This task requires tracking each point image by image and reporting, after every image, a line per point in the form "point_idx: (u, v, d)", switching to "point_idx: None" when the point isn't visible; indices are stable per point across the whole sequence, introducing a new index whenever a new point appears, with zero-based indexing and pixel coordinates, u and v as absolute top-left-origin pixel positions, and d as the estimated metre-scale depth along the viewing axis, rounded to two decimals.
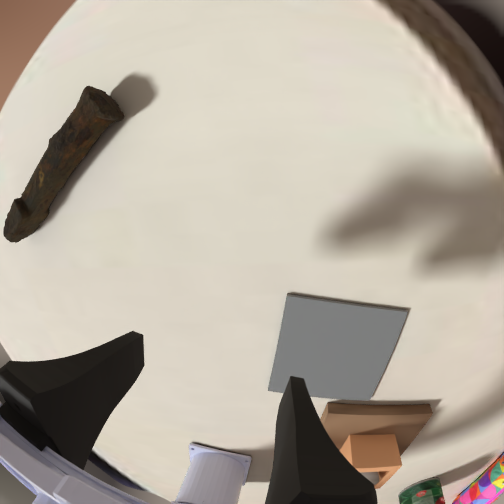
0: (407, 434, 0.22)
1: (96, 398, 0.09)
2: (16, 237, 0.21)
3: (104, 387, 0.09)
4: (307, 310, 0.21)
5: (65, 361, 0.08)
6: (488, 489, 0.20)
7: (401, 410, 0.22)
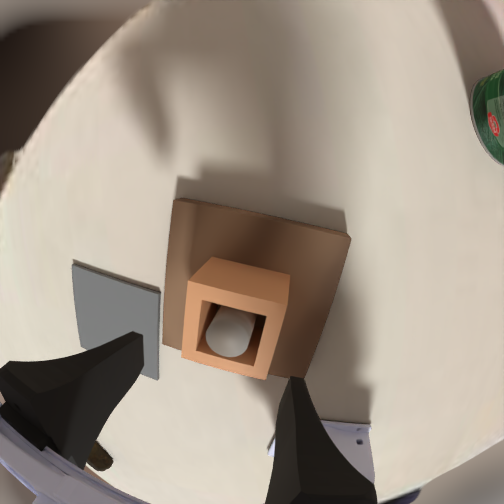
0: (219, 232, 0.19)
1: (96, 398, 0.09)
2: (98, 464, 0.31)
3: (104, 387, 0.09)
4: (85, 337, 0.25)
5: (65, 361, 0.08)
6: None
7: None
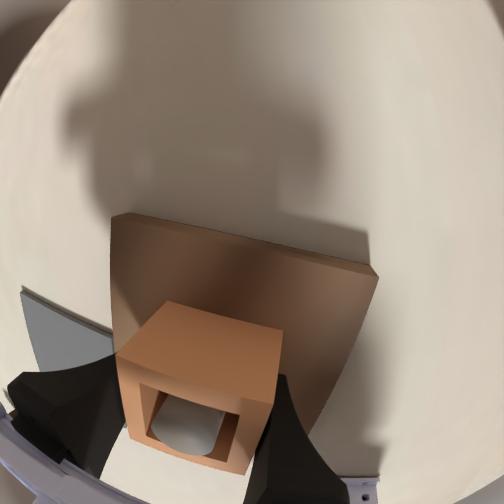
0: (174, 266, 0.12)
1: (113, 407, 0.09)
2: None
3: (120, 395, 0.09)
4: None
5: (81, 370, 0.08)
6: None
7: None
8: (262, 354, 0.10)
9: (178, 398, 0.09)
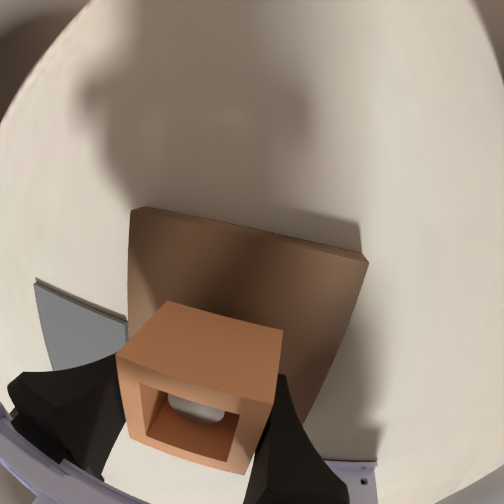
0: (188, 253, 0.14)
1: (113, 407, 0.09)
2: None
3: (120, 395, 0.09)
4: (55, 362, 0.20)
5: (81, 369, 0.08)
6: None
7: None
8: (262, 354, 0.10)
9: None
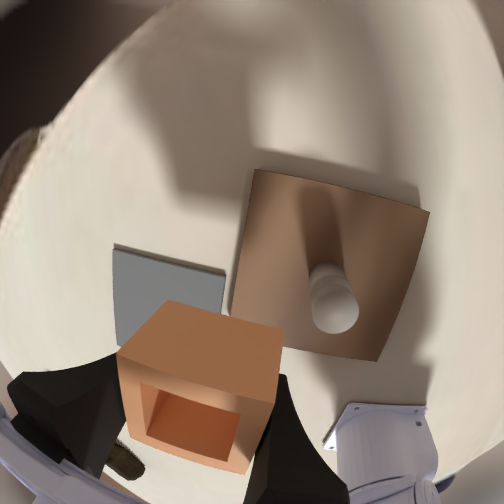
0: (306, 203, 0.17)
1: (113, 407, 0.09)
2: (129, 473, 0.29)
3: (120, 395, 0.09)
4: (123, 334, 0.24)
5: (81, 369, 0.08)
6: None
7: None
8: (263, 353, 0.10)
9: (330, 284, 0.14)
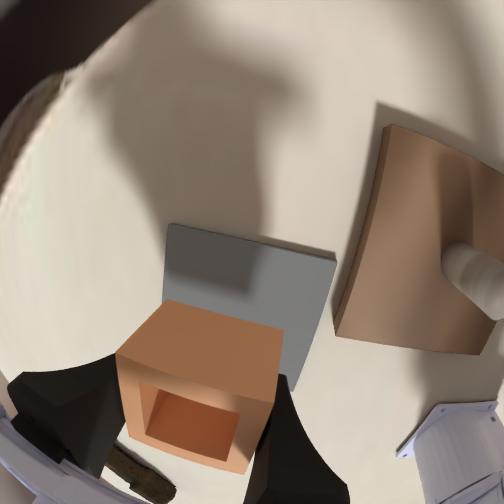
0: (444, 172, 0.12)
1: (113, 406, 0.09)
2: (159, 497, 0.24)
3: (120, 395, 0.09)
4: None
5: (80, 370, 0.08)
6: None
7: (374, 196, 0.14)
8: (263, 353, 0.10)
9: (495, 262, 0.09)
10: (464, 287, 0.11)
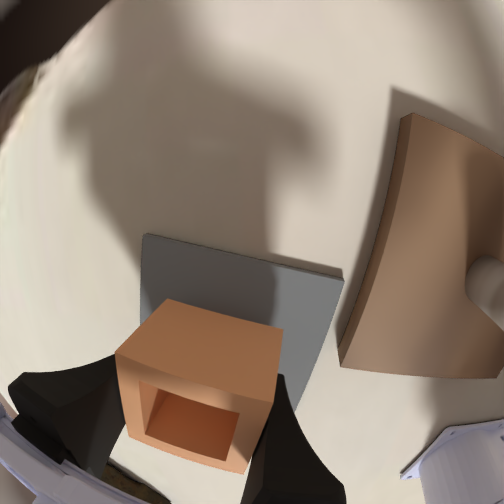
0: (472, 173, 0.09)
1: (114, 407, 0.09)
2: None
3: None
4: None
5: (82, 370, 0.08)
6: None
7: (391, 201, 0.11)
8: (262, 352, 0.10)
9: None
10: (495, 314, 0.08)
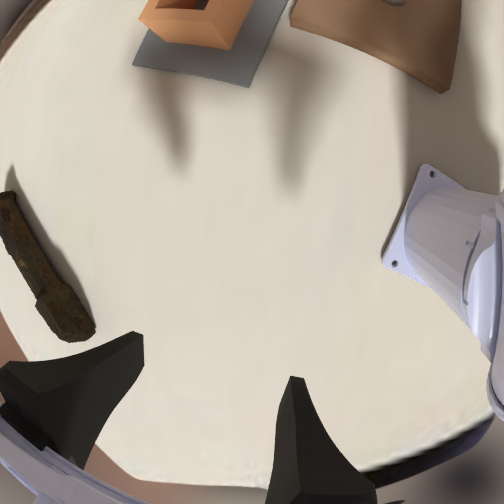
0: None
1: (96, 398, 0.09)
2: (66, 322, 0.21)
3: (103, 387, 0.09)
4: (149, 47, 0.17)
5: (65, 361, 0.08)
6: None
7: None
8: None
9: None
10: None
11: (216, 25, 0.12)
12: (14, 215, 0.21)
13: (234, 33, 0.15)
